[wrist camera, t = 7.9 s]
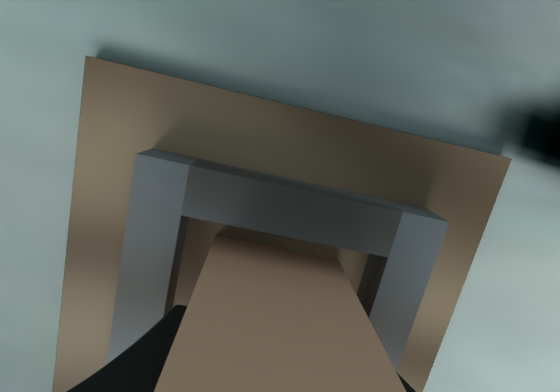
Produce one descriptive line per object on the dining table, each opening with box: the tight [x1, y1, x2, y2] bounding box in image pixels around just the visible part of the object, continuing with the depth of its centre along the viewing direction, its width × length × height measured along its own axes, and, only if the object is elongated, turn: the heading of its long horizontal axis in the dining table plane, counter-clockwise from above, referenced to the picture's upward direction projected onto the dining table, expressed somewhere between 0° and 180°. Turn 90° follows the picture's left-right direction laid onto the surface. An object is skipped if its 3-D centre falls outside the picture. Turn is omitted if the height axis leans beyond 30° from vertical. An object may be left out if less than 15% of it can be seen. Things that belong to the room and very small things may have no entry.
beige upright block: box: [154, 235, 406, 392], centre depth 9 cm, size 4×4×7 cm
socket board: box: [53, 56, 511, 392], centre depth 12 cm, size 14×14×2 cm
